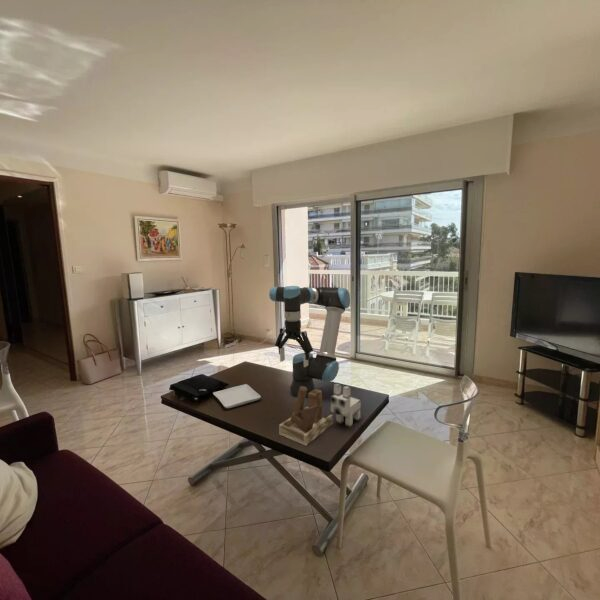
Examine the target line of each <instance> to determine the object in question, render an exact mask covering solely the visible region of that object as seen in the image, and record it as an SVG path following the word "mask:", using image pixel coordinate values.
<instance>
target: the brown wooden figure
mask: <svg viewBox="0 0 600 600" xmlns="http://www.w3.org/2000/svg"><path fill="white" fill-rule="evenodd" d="M306 393H307V388H306V387H305V386H301V387H300V388H299V393H298V397H296V401H295V402H296V403H295V407H294V411H293V412H292V413H291V416H290V417H291V420H292V421H293V422H295V423H296V424H297V425H298V426H299V427H300V428H301V429H302V430H303V431H304V432H305V433H307V432H308V431H310V430H311V429H312V427H313V423H314V419H315V415H316V412H317V408H318V405H316V406H312V407H308V408H306V407H304V405H305V402H306ZM303 415H304V416H303Z"/></svg>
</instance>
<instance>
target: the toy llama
mask: <svg viewBox="0 0 600 600" xmlns="http://www.w3.org/2000/svg"><path fill="white" fill-rule="evenodd" d="M361 400H362V399H359V398H357V397H354V396H351V386H348V385H344V386H343V387H342V383H339V382H336V383H334V384H333V395H331V396H330V413H333V414H336V418H335V419H336V421H335V422H336V423H337V424H340V425H341V424H342V423H345V424H344V425H345V427H347V428H351V427H353V424H354V423H353V422H354V420H355V421H360V420H361V413H362V412H361V411H362V410H361V405H362V402H361ZM344 417H345V419H344ZM359 419H360V420H359Z"/></svg>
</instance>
